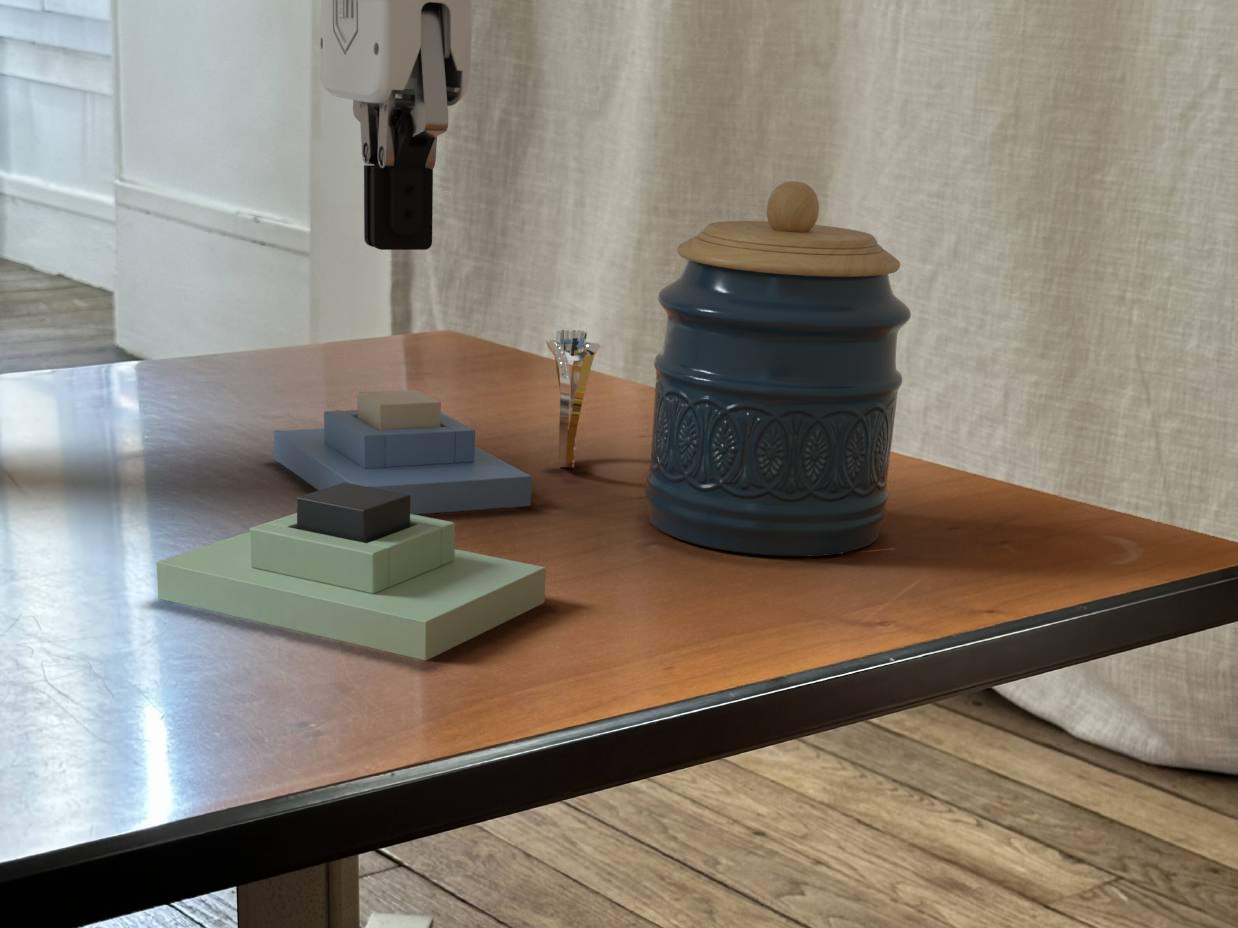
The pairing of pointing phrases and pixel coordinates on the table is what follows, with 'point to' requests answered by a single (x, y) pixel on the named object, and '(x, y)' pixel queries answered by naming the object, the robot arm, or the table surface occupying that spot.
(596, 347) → the ring
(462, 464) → the blue stepped base
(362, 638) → the stepped pedestal base
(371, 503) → the key
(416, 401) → the key
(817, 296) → the canister
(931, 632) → the table surface
